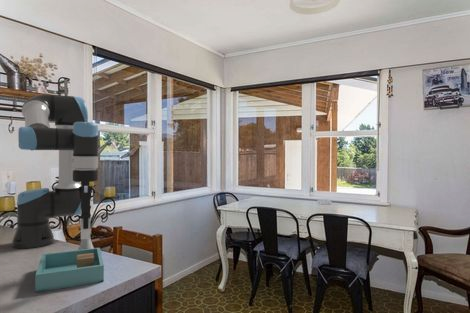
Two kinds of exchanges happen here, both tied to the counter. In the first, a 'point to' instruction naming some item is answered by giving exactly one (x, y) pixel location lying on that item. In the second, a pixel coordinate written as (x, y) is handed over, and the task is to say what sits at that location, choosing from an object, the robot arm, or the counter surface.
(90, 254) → the walnut cube
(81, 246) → the flask
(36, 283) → the tote
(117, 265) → the counter surface
